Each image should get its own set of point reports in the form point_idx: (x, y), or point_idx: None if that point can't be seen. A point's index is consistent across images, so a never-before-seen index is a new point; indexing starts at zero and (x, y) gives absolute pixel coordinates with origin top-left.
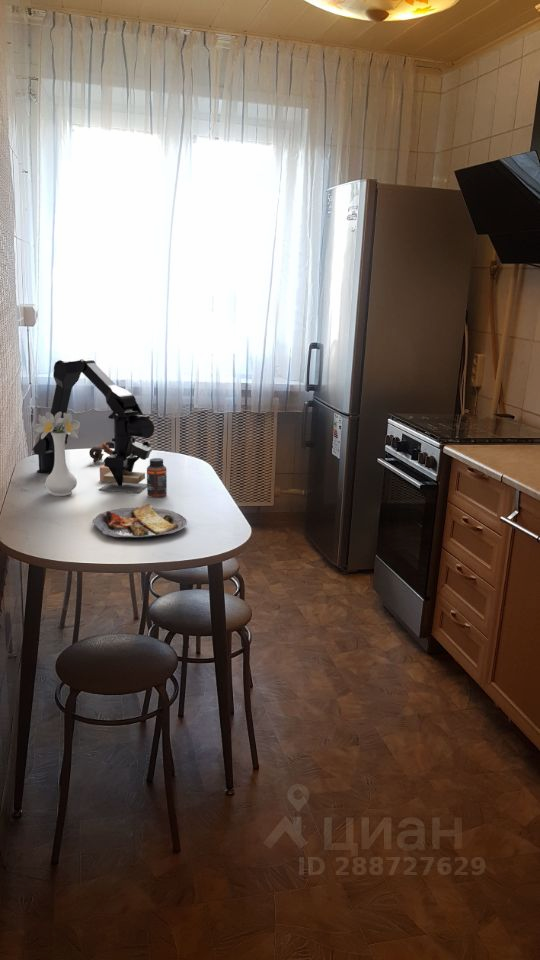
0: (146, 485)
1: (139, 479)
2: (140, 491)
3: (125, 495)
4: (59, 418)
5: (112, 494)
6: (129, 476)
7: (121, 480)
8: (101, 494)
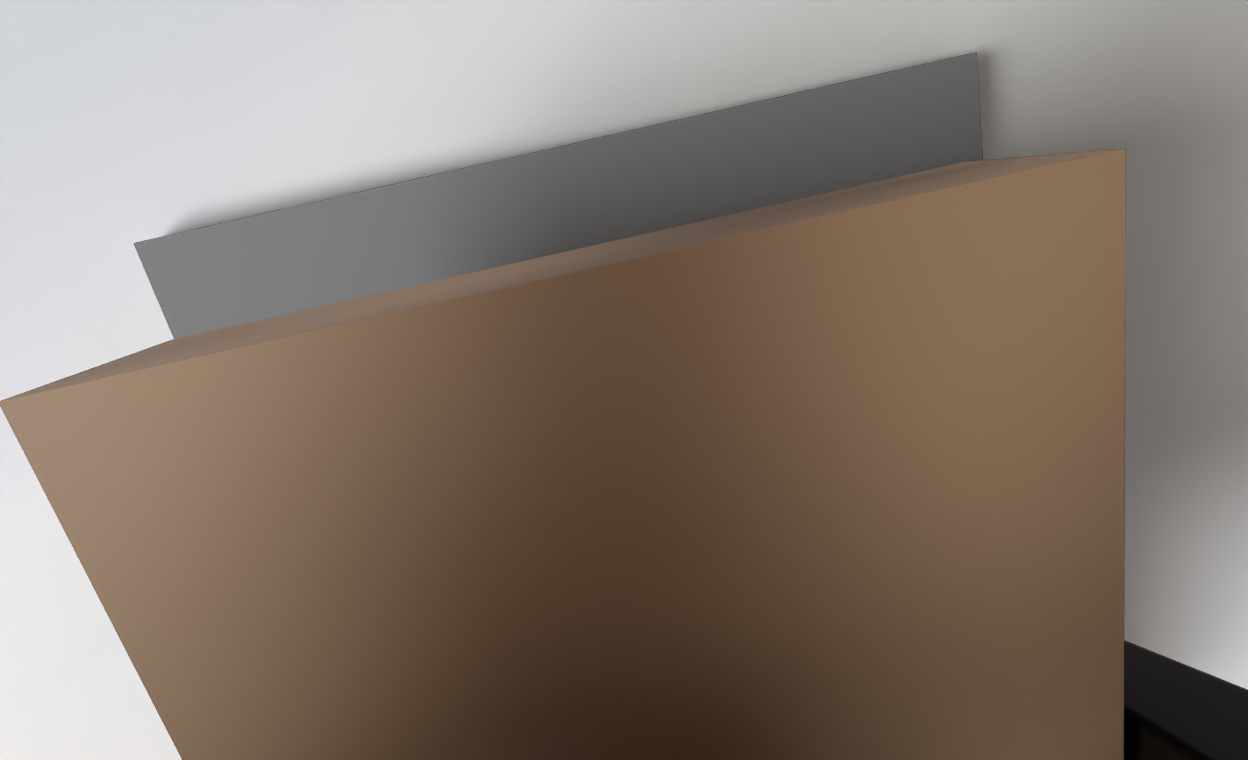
0: (317, 227)
1: (783, 211)
2: (867, 78)
3: (1213, 258)
4: None
5: (1198, 526)
6: (948, 604)
7: (1136, 659)
8: (1241, 680)
